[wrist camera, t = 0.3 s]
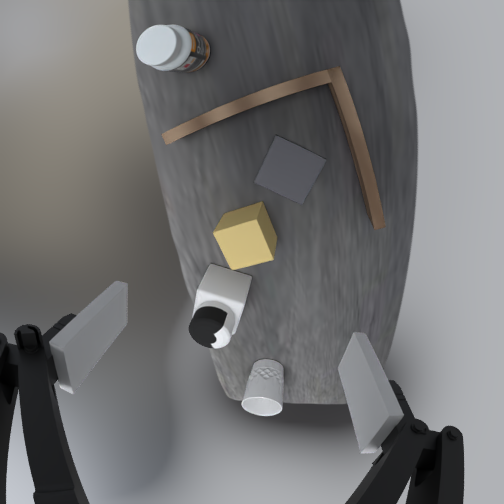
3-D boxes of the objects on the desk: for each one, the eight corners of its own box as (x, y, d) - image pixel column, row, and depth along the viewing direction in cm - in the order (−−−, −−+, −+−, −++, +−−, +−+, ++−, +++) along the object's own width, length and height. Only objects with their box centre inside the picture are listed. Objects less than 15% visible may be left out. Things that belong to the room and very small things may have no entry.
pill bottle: (220, 52, 30) (193, 41, 22) (188, 81, 33) (153, 81, 24) (192, 25, 29) (158, 10, 20) (162, 55, 31) (122, 49, 23)
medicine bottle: (203, 294, 51) (181, 344, 41) (210, 262, 47) (185, 312, 37) (242, 306, 51) (227, 359, 41) (252, 275, 47) (238, 329, 37)
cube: (262, 201, 40) (256, 219, 35) (277, 237, 43) (273, 259, 38) (224, 213, 42) (212, 232, 37) (240, 247, 45) (231, 270, 40)
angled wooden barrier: (334, 69, 29) (339, 66, 25) (377, 211, 38) (385, 227, 34) (177, 128, 36) (161, 134, 32) (234, 249, 45) (226, 268, 41)
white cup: (279, 381, 62) (274, 418, 53) (246, 372, 62) (237, 410, 53) (291, 362, 57) (287, 402, 49) (255, 352, 57) (246, 393, 49)
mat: (313, 122, 34) (313, 123, 33) (337, 194, 38) (337, 195, 38) (239, 147, 37) (239, 148, 37) (267, 214, 41) (267, 215, 41)
